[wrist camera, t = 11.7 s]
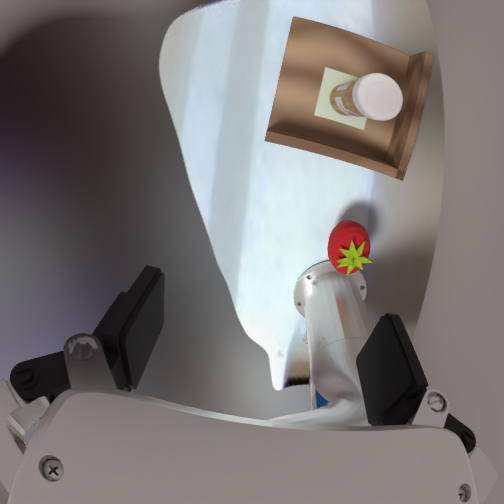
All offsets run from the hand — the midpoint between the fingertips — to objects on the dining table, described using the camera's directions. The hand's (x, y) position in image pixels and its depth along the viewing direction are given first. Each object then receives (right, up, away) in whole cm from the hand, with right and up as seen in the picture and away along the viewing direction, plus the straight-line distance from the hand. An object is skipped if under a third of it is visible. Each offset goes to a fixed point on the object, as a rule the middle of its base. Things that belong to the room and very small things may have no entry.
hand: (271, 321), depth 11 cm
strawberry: (+13, +6, +31) cm, 34 cm away
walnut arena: (+12, +24, +21) cm, 34 cm away
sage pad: (+11, +23, +21) cm, 33 cm away
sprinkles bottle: (+11, +23, +21) cm, 33 cm away
